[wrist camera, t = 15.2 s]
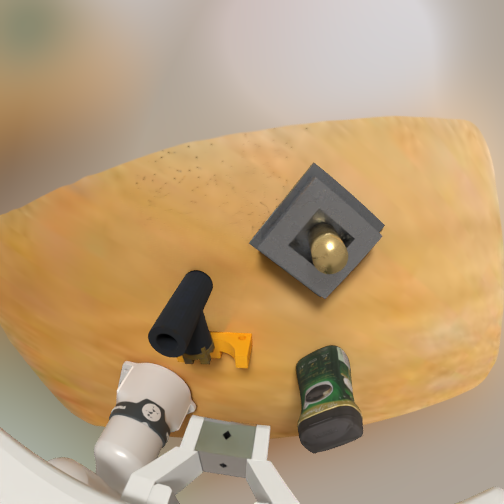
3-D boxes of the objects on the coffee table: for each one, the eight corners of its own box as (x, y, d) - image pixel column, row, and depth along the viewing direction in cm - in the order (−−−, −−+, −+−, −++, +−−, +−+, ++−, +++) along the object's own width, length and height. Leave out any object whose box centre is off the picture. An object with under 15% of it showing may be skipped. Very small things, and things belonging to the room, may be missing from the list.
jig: (319, 294, 44) (322, 309, 40) (249, 241, 43) (245, 252, 38) (383, 224, 39) (394, 232, 35) (313, 162, 38) (317, 163, 33)
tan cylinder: (324, 258, 41) (331, 280, 34) (302, 240, 41) (304, 260, 33) (344, 236, 40) (355, 254, 32) (321, 217, 39) (328, 232, 32)
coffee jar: (310, 384, 51) (313, 462, 33) (290, 360, 49) (287, 442, 32) (354, 363, 48) (372, 441, 31) (336, 337, 46) (353, 419, 29)
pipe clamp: (190, 347, 51) (179, 369, 45) (186, 329, 50) (175, 350, 44) (252, 352, 50) (248, 375, 44) (251, 333, 48) (247, 356, 42)
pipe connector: (224, 326, 49) (205, 390, 35) (196, 327, 50) (171, 388, 36) (209, 268, 44) (180, 326, 31) (179, 271, 45) (141, 326, 32)
